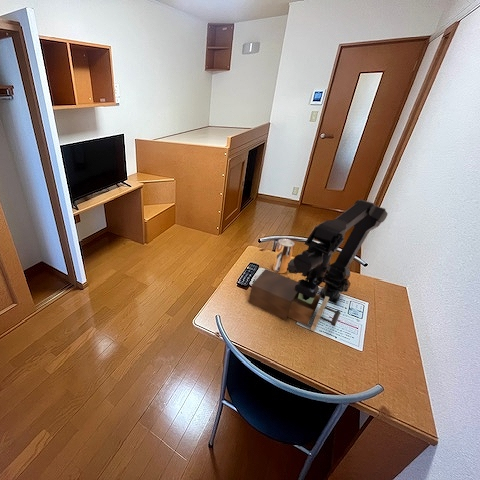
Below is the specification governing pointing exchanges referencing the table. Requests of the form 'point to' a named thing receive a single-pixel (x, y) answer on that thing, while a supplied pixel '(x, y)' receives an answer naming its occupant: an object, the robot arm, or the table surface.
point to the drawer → (310, 311)
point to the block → (305, 300)
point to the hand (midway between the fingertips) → (307, 295)
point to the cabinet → (273, 293)
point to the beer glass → (283, 255)
